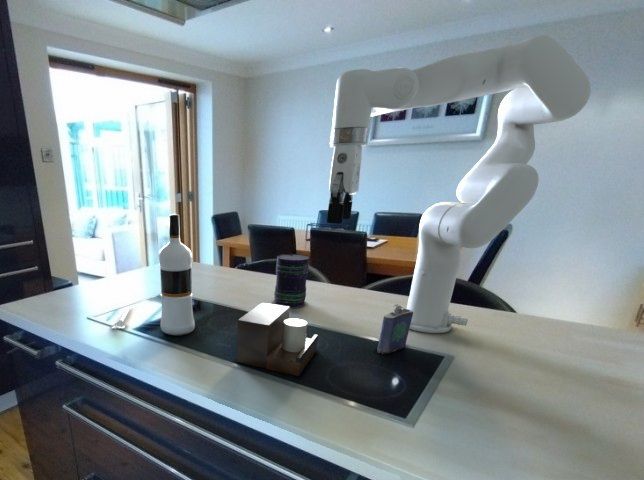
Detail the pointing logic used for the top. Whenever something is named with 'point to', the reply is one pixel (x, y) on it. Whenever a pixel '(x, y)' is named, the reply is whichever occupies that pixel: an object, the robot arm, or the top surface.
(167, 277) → the vodka
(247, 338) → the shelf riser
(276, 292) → the storage jar
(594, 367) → the top surface
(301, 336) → the white cylinder
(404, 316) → the flask
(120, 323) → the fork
